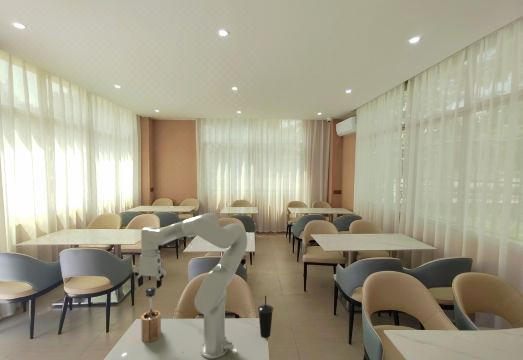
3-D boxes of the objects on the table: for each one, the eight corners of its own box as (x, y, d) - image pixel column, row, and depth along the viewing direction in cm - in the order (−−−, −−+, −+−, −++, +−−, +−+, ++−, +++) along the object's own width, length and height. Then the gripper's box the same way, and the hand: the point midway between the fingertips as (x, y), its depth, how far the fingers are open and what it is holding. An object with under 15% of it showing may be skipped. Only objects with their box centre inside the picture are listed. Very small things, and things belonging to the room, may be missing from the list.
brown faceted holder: (165, 329, 135) (165, 309, 134) (154, 343, 125) (154, 320, 124) (150, 328, 136) (150, 307, 136) (138, 341, 126) (137, 319, 125)
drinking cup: (271, 340, 127) (271, 300, 126) (256, 338, 128) (256, 298, 127) (274, 331, 134) (274, 293, 133) (259, 329, 136) (259, 291, 135)
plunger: (158, 317, 131) (158, 287, 130) (152, 323, 126) (152, 292, 126) (149, 316, 132) (148, 286, 131) (143, 322, 127) (142, 291, 126)
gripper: (170, 251, 130) (169, 284, 131) (138, 248, 133) (138, 281, 133) (162, 256, 123) (162, 291, 123) (128, 253, 125) (128, 288, 126)
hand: (149, 286), depth 128 cm, fingers open, 9 cm apart
